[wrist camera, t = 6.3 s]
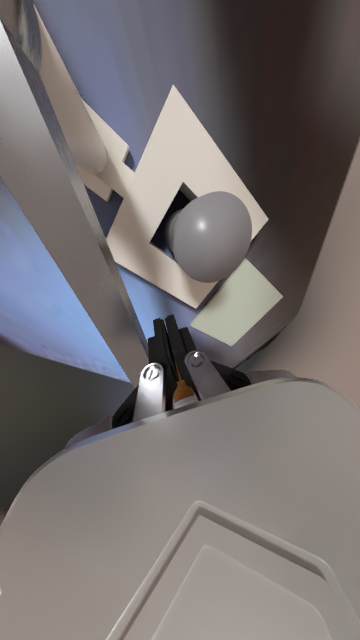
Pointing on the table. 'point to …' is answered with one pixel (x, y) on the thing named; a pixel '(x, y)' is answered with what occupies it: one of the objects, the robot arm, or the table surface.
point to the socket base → (143, 174)
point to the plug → (209, 236)
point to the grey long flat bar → (58, 189)
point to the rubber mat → (237, 305)
